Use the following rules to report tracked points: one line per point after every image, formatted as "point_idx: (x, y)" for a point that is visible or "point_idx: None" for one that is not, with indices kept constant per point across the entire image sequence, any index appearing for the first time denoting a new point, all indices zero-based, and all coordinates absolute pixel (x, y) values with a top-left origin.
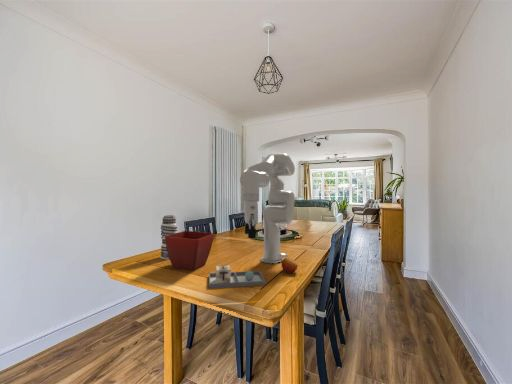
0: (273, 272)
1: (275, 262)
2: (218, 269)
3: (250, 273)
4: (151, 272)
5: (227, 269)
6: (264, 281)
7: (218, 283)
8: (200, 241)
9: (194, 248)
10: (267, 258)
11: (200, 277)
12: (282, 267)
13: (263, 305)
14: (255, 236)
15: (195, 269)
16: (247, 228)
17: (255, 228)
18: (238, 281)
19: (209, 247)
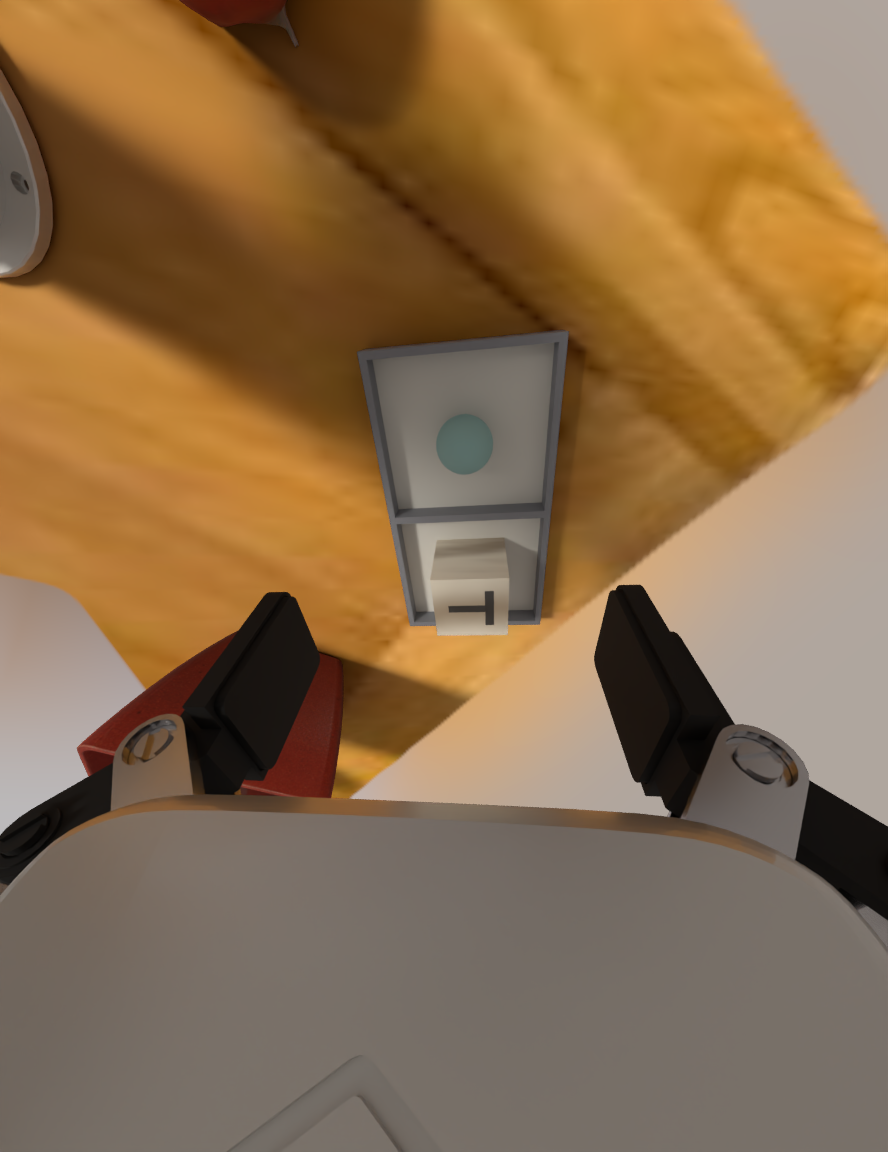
0: (291, 189)
1: (2, 83)
2: (495, 627)
3: (484, 446)
4: (370, 745)
5: (502, 592)
6: (567, 342)
7: (539, 594)
8: (299, 777)
9: (337, 758)
10: None
11: (411, 638)
12: (244, 20)
13: (809, 391)
14: (649, 599)
15: (333, 658)
16: (277, 709)
17: (780, 745)
18: (482, 498)
19: (195, 685)
